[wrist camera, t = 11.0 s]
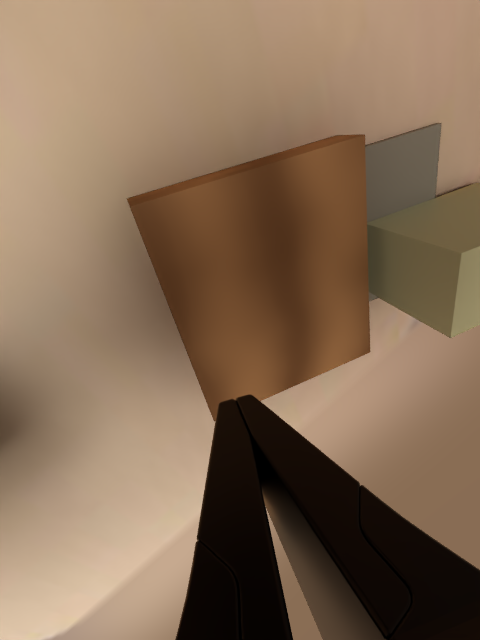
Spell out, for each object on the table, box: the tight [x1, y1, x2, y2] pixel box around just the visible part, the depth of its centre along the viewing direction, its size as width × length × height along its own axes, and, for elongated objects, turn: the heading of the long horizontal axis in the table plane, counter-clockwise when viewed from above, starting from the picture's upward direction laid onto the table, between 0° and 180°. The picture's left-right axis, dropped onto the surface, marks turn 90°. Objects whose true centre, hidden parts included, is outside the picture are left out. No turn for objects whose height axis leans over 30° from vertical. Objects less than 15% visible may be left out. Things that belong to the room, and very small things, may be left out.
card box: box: [367, 183, 480, 338], centre depth 21 cm, size 7×5×9 cm
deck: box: [127, 135, 370, 421], centre depth 20 cm, size 12×14×2 cm
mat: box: [365, 123, 441, 301], centre depth 22 cm, size 7×10×1 cm, turn 15°
